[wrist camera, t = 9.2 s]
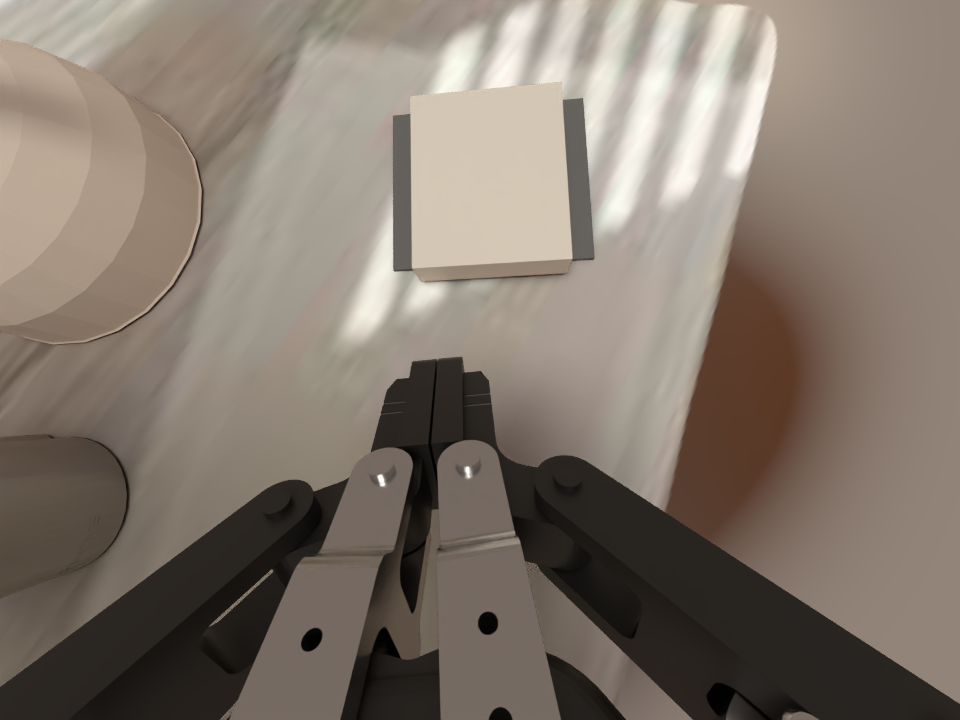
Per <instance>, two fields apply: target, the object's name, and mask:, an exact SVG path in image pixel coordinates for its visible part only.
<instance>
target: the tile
mask: <svg viewBox="0 0 960 720" xmlns="http://www.w3.org/2000/svg"><path fill="white" fill-rule="evenodd" d="M410 113H411V223H412V269H413V271H414V272H415V273H416V275H417V276H418V278H419V279H420V280H421V281H438V280H455V279H472V278H490V277H507V276H525V275H542V274H559V273H567V271H568V269H569V266H570V264H571V262H572V259H573V256H572V241H571V225H570V209H569V194H568V178H567V163H566V147H565V131H564V116H563V100H562V84H561V82H555V83H545V84H534V85H524V86H513V87H503V88H493V89H482V90H472V91H461V92H451V93H440V94H430V95H420V96H410Z"/></svg>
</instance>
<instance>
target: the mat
mask: <svg viewBox="0 0 960 720" xmlns="http://www.w3.org/2000/svg"><path fill="white" fill-rule="evenodd" d="M563 116H564V131H565V147H566V163H567V178H568V194H569V209H570V225H571V241H572V256H573V259H572V261H575V260H592V259H594V245H593V231H592V217H591V203H590V189H589V175H588V161H587V147H586V133H585V119H584V105H583V98H580V99H569V100H563ZM393 270H394V271H409V270H413V269H412V223H411V114H407V115H396V116H393Z"/></svg>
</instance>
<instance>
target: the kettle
mask: <svg viewBox="0 0 960 720" xmlns="http://www.w3.org/2000/svg"><path fill="white" fill-rule="evenodd" d="M201 194H202V188H201V184H200V180H199V175H198V171H197V167H196V162H195V159H194V157H193V155H192V154H191V152H190V150H189V148H188V147H187V145H186V143H185V141H184V140H183V138H182V136H181V134H180V133H179V132H178V131H176V130H175V129H174V128H173V127H172V126H171V125H170V124H169V123H168V122H167V121H166V120H164V119H163V118H162V117H161V116H160V115H158V114H156V113H154V112H152V111H151V110H149V109H148V108H147V107H145V106H144V105H142V104H141V103H139V102H138V101H137V100H135V99H134V98H132V97H131V96H129V95H128V94H127V93H125V92H124V91H122V90H121V89H119V88H118V87H117V86H115V85H114V84H112V83H111V82H110V81H108V80H107V79H105V78H104V77H102V76H100V75H98V74H96V73H94V72H92V71H89V70H87V69H85V68H83V67H81V66H78V65H76V64H74V63H72V62H69V61H67V60H64V59H62V58H59V57H57V56H55V55H52V54H50V53H47V52H45V51H42V50H40V49H37V48H35V47H33V46H30V45H28V44H25V43H20V42H14V41H8V40H2V39H0V332H4V333H9V334H14V335H18V336H22V337H23V338H27V339H32V340H36V341H40V342H45V343H49V344H67V343H81V342H88V341H90V340H93V339H96V338H99V337H102V336H105V335H108V334H111V333H113V332H116V331H119V330H120V329H122V328H123V327H125V326H126V325H128V324H129V323H131V322H132V321H134V320H135V319H137V318H138V317H140V316H141V315H143V314H144V313H146V312H147V311H149V310H150V309H151V308H152V307H153V305H154V304H155V303H156V302H157V301H158V300H159V299H160V298H161V297H162V296H163V295H164V294H165V293H166V292H167V291H168V290H169V289H170V288H171V287H172V285H173V284H174V282H175V281H176V279H177V277H178V276H179V274H180V272H181V270H182V269H183V267H184V265H185V264H186V262H187V260H188V258H189V257H190V255H191V252H192V248H193V245H194V242H195V239H196V235H197V232H198V229H199V225H200V216H201Z"/></svg>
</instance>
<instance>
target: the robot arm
mask: <svg viewBox="0 0 960 720" xmlns="http://www.w3.org/2000/svg"><path fill="white" fill-rule="evenodd" d="M126 499H127V492H126V484H125V479H124V476H123V473H122V470H121V468H120V466H119V464H118V462H117V461H116V459H115V457H114V456H113V455H112V454H111V453H110V452H109V451H108V450H107V449H106V448H104V447H103V446H101V445H100V444H98V443H97V442H94V441H91V440H88V439H85V438H74V437H71V438H57V439H52V438H50V437H49V436H47V435H45V434H42V435H26V436H10V437H0V598H2V597H5V596H8V595H10V594H13V593H16V592H18V591H21V590H23V589H26V588H29V587H31V586H34V585H36V584H39V583H42V582H44V581H47V580H49V579H52V578H55V577H57V576H60V575H63V574H65V573H68V572H71V571H73V570H76V569H79V568H81V567H84V566H86V565H87V564H89V563H91V562H92V561H94V560H95V559H97V558H98V557H99V556H100V555H101V554H102V553H103V552H104V551H105V550H106V549H107V548H108V547H109V545H110V544H111V543H112V541H113V540H114V539H115V537H116V535H117V533H118V531H119V529H120V527H121V524H122V521H123V518H124V514H125V510H126ZM433 509H439V527H440V548H438V549H437V598H438V635H439V649H437V650H435V651H432V652H430V653H428V654H425V655H423V656H420V650H421V640H420V615H421V608H422V601H423V594H424V587H425V580H426V573H427V566H428V559H429V552H430V545H431V531H430V526H431V511H432V510H433ZM525 561H527V562H531V563H535V564H537V565H538V567H539V569H540V570H541V572H542V573H543V574H544V575H545V576H546V577H547V578H548V579H549V580H550V581H551V582H552V583H553V584H554V585H555V586H556V587H557V588H559V589H560V590H561V591H562V592H563V593H564V594H565V595H566V596H567V597H568V598H569V599H570V600H571V601H572V602H573V603H574V604H575V605H576V606H577V607H578V608H579V609H580V610H581V611H582V612H583V613H584V614H585V615H586V616H587V617H588V618H589V619H590V620H591V621H592V622H593V623H594V624H595V625H596V626H597V627H599V628H600V629H601V630H602V631H603V632H604V633H605V634H606V635H607V636H608V637H609V638H610V639H611V640H612V641H613V642H614V643H615V644H616V645H617V646H618V647H619V648H620V649H621V650H622V651H623V652H624V653H625V654H626V655H627V656H628V657H629V658H630V659H631V660H632V661H633V662H634V663H635V664H637V665H638V666H639V667H640V668H641V669H642V670H643V671H644V672H645V673H646V674H647V675H648V676H649V677H650V678H651V679H652V680H653V681H654V682H655V683H656V684H657V685H658V686H659V687H660V688H661V689H662V690H663V691H664V692H665V693H666V694H667V695H668V696H669V697H671V698H672V700H673V701H674V702H675V703H676V704H678V705H679V706H680V707H681V708H682V709H683V710H684V711H685V712H686V713H687V714H688V715H689V716H690V717H691V718H692V719H693V720H960V704H959V703H957V702H956V701H954V700H953V699H951V698H950V697H948V696H947V695H945V694H943V693H942V692H940V691H939V690H937V689H936V688H934V687H933V686H931V685H930V684H928V683H927V682H925V681H923V680H922V679H920V678H918V677H917V676H916V675H914V674H912V673H911V672H910V671H908V670H906V669H905V668H903V667H902V666H900V665H899V664H897V663H896V662H894V661H893V660H891V659H889V658H888V657H886V656H885V655H883V654H882V653H880V652H879V651H877V650H876V649H874V648H873V647H871V646H870V645H868V644H866V643H865V642H863V641H862V640H860V639H859V638H857V637H856V636H854V635H853V634H851V633H849V632H848V631H846V630H845V629H843V628H842V627H840V626H839V625H837V624H836V623H834V622H833V621H831V620H829V619H828V618H826V617H825V616H823V615H822V614H820V613H819V612H817V611H816V610H814V609H813V608H811V607H809V606H808V605H806V604H805V603H803V602H802V601H800V600H799V599H797V598H796V597H794V596H793V595H791V594H789V593H788V592H786V591H785V590H783V589H782V588H780V587H779V586H777V585H776V584H774V583H773V582H771V581H769V580H768V579H766V578H765V577H763V576H762V575H760V574H759V573H757V572H756V571H754V570H753V569H751V568H749V567H748V566H746V565H745V564H743V563H741V562H740V561H739V560H737V559H736V558H734V557H733V556H731V555H730V554H728V553H726V552H725V551H723V550H722V549H720V548H719V547H717V546H716V545H714V544H712V543H711V542H710V541H708V540H706V539H705V538H703V537H702V536H700V535H699V534H697V533H696V532H694V531H693V530H691V529H690V528H688V527H686V526H685V525H683V524H682V523H680V522H679V521H677V520H676V519H674V518H673V517H671V516H669V515H668V514H666V513H665V512H663V511H662V510H660V509H659V508H657V507H656V506H654V505H653V504H651V503H650V502H648V501H646V500H645V499H643V498H642V497H640V496H639V495H637V494H636V493H634V492H633V491H631V490H630V489H628V488H626V487H625V486H623V485H622V484H620V483H619V482H617V481H616V480H614V479H613V478H611V477H610V476H608V475H606V474H605V473H603V472H602V471H600V470H599V469H597V468H596V467H594V466H593V465H591V464H590V463H588V462H586V461H584V460H582V459H580V458H577V457H573V456H555V457H552V458H549V459H547V460H545V461H544V462H542V463H541V464H540V465H539V467H538V468H536V467H531V466H525V465H521V464H517V463H515V462H513V461H511V460H509V459H507V458H506V457H505V456H504V455H503V454H502V453H501V452H500V451H499V449H498V447H497V444H496V438H495V430H494V421H493V413H492V405H491V396H490V387H489V380H488V379H487V378H486V377H485V376H484V375H483V373H482V372H481V371H477V372H467V373H464V365H463V358H462V357H453V358H442V359H438V361H437V359H432V360H422V361H413V362H412V366H411V371H410V376H409V378H405V379H396V381H395V382H394V383H393V384H392V385H391V386H390V388H389V389H388V390H387V392H386V396H385V400H384V405H383V407H382V411H381V415H380V419H379V423H378V426H377V430H376V434H375V438H374V442H373V445H372V449H371V453H369V454H367V455H366V456H364V457H363V458H362V459H361V460H360V461H359V462H358V463H357V464H356V465H355V467H354V468H353V470H352V473H351V475H350V478H348V479H346V480H344V481H342V482H339V483H337V484H334V485H331V486H328V487H325V488H323V489H320V490H317V491H314V492H313V490H312V488H311V486H310V485H309V484H308V483H306V482H304V481H301V480H288V481H283V482H280V483H277V484H275V485H273V486H271V487H269V488H267V489H266V490H264V491H263V492H261V493H260V494H259V495H257V496H256V497H255V498H253V499H252V500H251V501H249V502H248V503H247V504H245V505H244V506H243V507H241V508H240V509H239V510H237V511H236V512H235V513H233V514H232V515H230V516H229V517H228V518H226V519H225V520H224V521H222V522H221V523H220V524H218V525H217V526H216V527H214V528H213V529H212V530H210V531H209V532H208V533H206V534H205V535H204V536H202V537H201V538H200V539H198V540H197V541H196V542H194V543H193V544H192V545H190V546H189V547H188V548H186V549H185V550H184V551H182V552H181V553H180V554H178V555H177V556H176V557H174V558H173V559H172V560H170V561H169V562H168V563H166V564H165V565H163V566H162V567H161V568H159V569H158V570H157V571H155V572H154V573H153V574H151V575H150V576H149V577H147V578H146V579H145V580H143V581H142V582H141V583H139V584H138V585H137V586H135V587H134V588H133V589H131V590H130V591H129V592H127V593H126V594H125V595H123V596H122V597H121V598H119V599H118V600H117V601H115V602H114V603H113V604H111V605H110V606H109V607H107V608H106V609H105V610H103V611H102V612H101V613H99V614H98V615H96V616H95V617H94V618H92V619H91V620H90V621H88V622H87V623H86V624H84V625H83V626H82V627H80V628H79V629H78V630H76V631H75V632H74V633H72V634H71V635H70V636H68V637H67V638H66V639H64V640H63V641H62V642H60V643H59V644H58V645H56V646H55V647H54V648H52V649H51V650H50V651H48V652H47V653H46V654H44V655H43V656H42V657H40V658H39V659H38V660H36V661H35V662H34V663H32V664H31V665H29V666H28V667H27V668H25V669H24V670H23V671H21V672H20V673H19V674H17V675H16V676H15V677H13V678H12V679H11V680H9V681H8V682H7V683H5V684H4V685H3V686H1V687H0V720H220V719H221V718H222V716H223V715H224V714H225V713H226V712H227V711H228V710H229V709H230V708H231V707H232V706H233V705H234V703H235V702H236V701H237V700H238V701H237V703H236V706H235V708H234V710H233V712H232V715H231V716H230V717H229V718H228V719H227V720H626V719H625V718H624V717H623V716H622V714H621V713H620V712H619V711H618V710H617V709H616V707H615V706H614V705H613V704H612V703H611V702H610V700H609V699H608V698H607V697H606V696H605V695H604V694H603V692H602V691H601V690H600V689H599V688H598V687H597V686H596V685H595V684H594V683H593V682H592V681H591V680H589V679H588V678H587V677H586V676H585V675H584V674H583V673H581V672H580V671H579V670H577V669H576V668H575V667H573V666H572V665H570V664H569V663H567V662H565V661H564V660H562V659H560V658H558V657H556V656H554V655H551V654H549V653H546V652H545V648H544V643H543V639H542V634H541V630H540V626H539V621H538V617H537V613H536V608H535V604H534V599H533V595H532V591H531V586H530V582H529V577H528V573H527V569H526V564H525ZM271 569H272V570H273V571H274V572H273V573H272V574H271V575H269V576H268V577H267V578H266V579H265V580H264V581H263V582H262V583H261V584H260V585H258V586H257V587H256V588H255V589H254V590H253V591H252V592H251V593H250V594H249V595H247V596H246V597H245V598H244V599H243V600H242V601H241V602H240V603H239V604H238V605H237V606H235V607H234V608H233V609H232V610H231V611H230V612H229V613H228V614H227V615H226V616H224V617H223V618H222V619H221V620H220V621H219V622H217V623H216V624H214V625H212V626H210V625H211V624H212V623H213V622H214V621H215V620H216V619H217V618H218V617H219V616H220V615H221V614H222V613H224V612H225V611H226V610H227V609H228V608H229V607H230V606H231V605H232V604H233V603H235V602H236V601H237V600H238V599H239V598H240V597H241V596H242V595H243V594H245V593H246V592H247V591H248V590H249V589H250V588H251V587H252V586H253V585H255V584H256V583H257V582H258V581H259V580H260V579H261V578H262V577H263V576H264V575H266V574H267V573H268V572H269V571H270V570H271ZM209 626H210V627H209Z"/></svg>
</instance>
